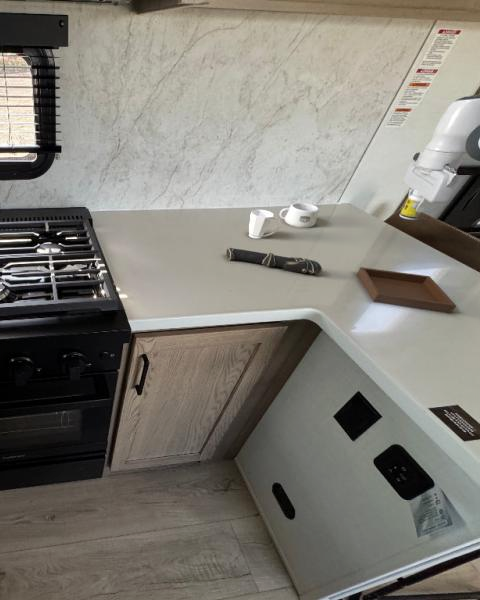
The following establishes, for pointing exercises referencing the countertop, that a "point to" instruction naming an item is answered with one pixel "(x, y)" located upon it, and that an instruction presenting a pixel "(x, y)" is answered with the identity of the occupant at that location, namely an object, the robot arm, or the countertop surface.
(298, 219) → the mug
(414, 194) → the supplement bottle
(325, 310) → the countertop surface
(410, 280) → the tray
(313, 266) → the twine-tied cloth roll
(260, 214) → the cup
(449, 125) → the robot arm
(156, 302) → the countertop surface
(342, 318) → the countertop surface
